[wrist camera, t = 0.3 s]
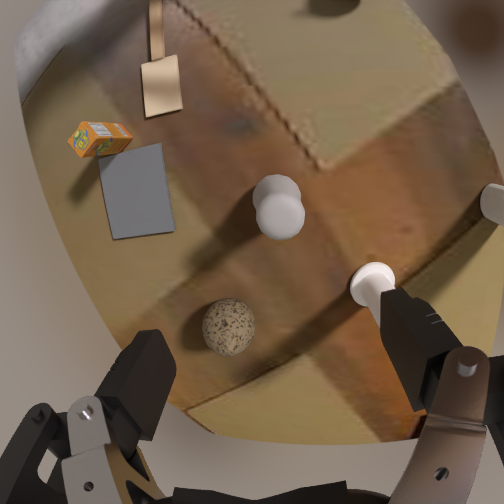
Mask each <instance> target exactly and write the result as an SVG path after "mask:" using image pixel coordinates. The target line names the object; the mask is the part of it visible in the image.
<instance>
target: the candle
mask: <svg viewBox="0 0 504 504" xmlns="http://www.w3.org/2000/svg"><path fill="white" fill-rule="evenodd" d="M394 284H395V278H394V274H393V272H392V270H391V269H390V268H389V267H388V266H387V265H385V264H383V263H380V262H371V263H368V264H366V265H364V266H362V267H361V268H359V269H358V270H357V271H356V273H355V274H354V276H353V277H352V280H351V283H350V292H351V295H352V297H353V299H354V300H355V301H356V302H357V303H358V304H360V305H362V306H366V307H368V308H369V310H370V311H371V313H372V315H373V317H374V319H375V320H376V322H377V324H378V326H379V328H380V295H381V292H384V291H388V290H392V289H395V287H394Z"/></svg>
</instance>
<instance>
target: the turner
mask: <svg viewBox="0 0 504 504" xmlns="http://www.w3.org/2000/svg"><path fill="white" fill-rule="evenodd" d="M149 14H150V40H151V57H152V62H148V63H145V64H142V79H143V91H144V102H145V112H146V117H152V116H155V115H159V114H163V113H168V112H172V111H176V110H181V109H183V107H182V98H181V89H180V80H179V70H178V59H177V55H173V56H169V57H165V49H164V34H163V16H162V0H149Z"/></svg>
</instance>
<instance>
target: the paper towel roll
mask: <svg viewBox="0 0 504 504" xmlns="http://www.w3.org/2000/svg"><path fill="white" fill-rule="evenodd" d="M480 206H481V211H482V213H483V215H484V216H485V217H486V218H487V219H489V220H491V221H493V222H495V223H497V224H499V225H502V226H504V186H500V185H497V184H492V183H491V184H489V185H487V186H486V187H485V188H484V190H483V192H482V194H481V199H480Z"/></svg>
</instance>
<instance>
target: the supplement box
mask: <svg viewBox="0 0 504 504" xmlns="http://www.w3.org/2000/svg"><path fill="white" fill-rule="evenodd" d="M132 139H133V137H132V136H131V135H130V134H129V133H128V131H127V130H126V129H125V128H124V127H123V126H122V124H116V123H102V122H86V121H83V122H81V123H80V125H79V127H78V129H77V130H76V131H75V133H74V134H73V135H72V137H71V138H69V140H68V141H67V143H68V144H69V145H70V146H71V147H72V148H73V149H74V150H75V152H76V153H77V154H78V155H79V156H80V157H81V158H83V157H90V156H99V155H107V154H116V153H120V152H121V151H122V150H123V149H124V148H125V147H126V146H127V144H128V143H129V142H130V141H131V140H132Z"/></svg>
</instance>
